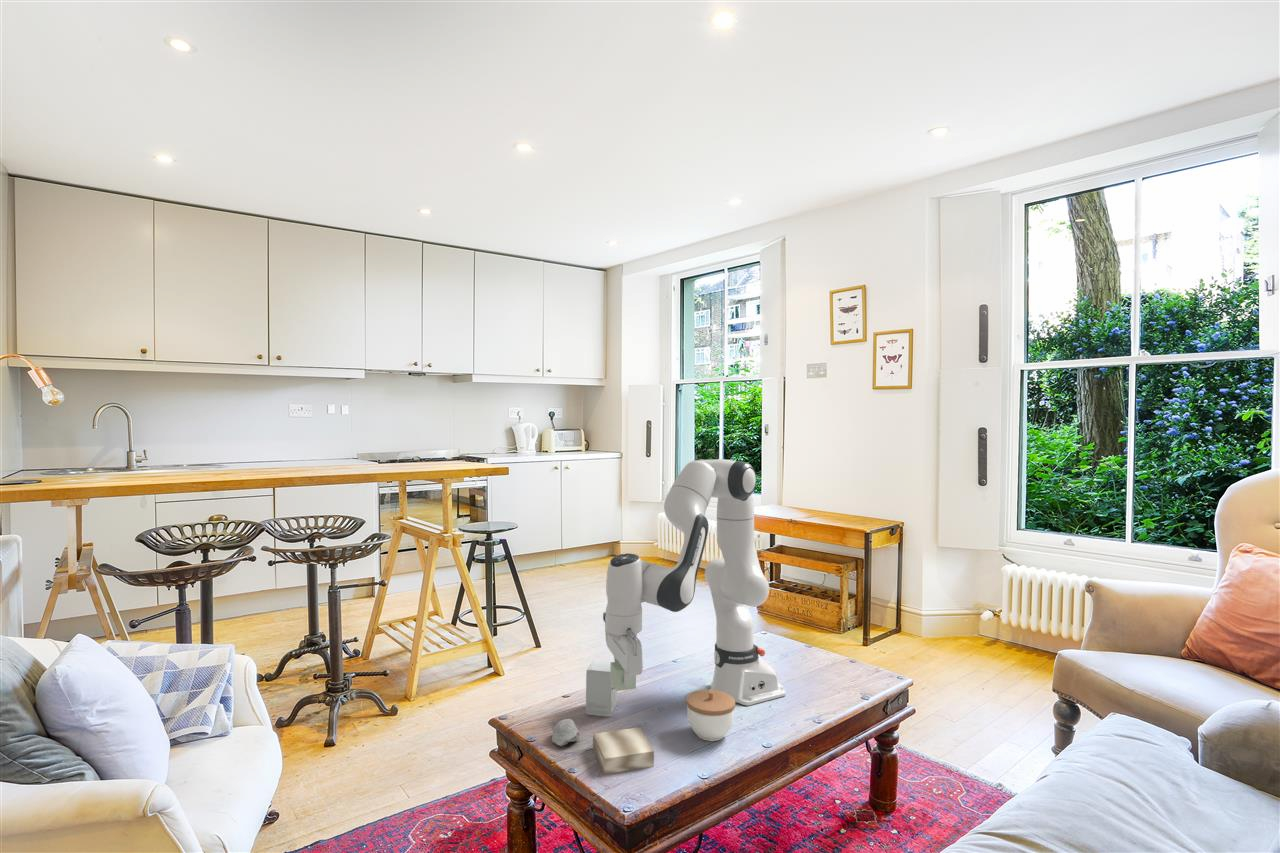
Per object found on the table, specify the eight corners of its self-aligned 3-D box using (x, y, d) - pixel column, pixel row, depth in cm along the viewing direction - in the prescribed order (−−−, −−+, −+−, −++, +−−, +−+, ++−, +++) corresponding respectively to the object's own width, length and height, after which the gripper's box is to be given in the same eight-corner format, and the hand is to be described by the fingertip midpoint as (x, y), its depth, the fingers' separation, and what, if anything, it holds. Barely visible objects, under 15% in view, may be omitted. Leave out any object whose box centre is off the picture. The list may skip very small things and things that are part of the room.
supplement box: (611, 717, 176) (611, 672, 175) (585, 714, 177) (585, 669, 177) (617, 705, 183) (617, 661, 183) (592, 703, 184) (592, 659, 184)
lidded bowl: (708, 717, 176) (709, 678, 176) (744, 735, 167) (745, 693, 166) (676, 732, 168) (676, 691, 168) (712, 752, 158) (712, 708, 158)
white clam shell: (588, 740, 164) (588, 721, 163) (564, 753, 158) (564, 733, 157) (565, 729, 169) (565, 710, 169) (542, 741, 163) (542, 721, 163)
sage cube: (629, 680, 159) (630, 660, 159) (635, 688, 154) (636, 668, 154) (610, 682, 157) (610, 662, 157) (615, 691, 152) (616, 670, 152)
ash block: (638, 742, 163) (639, 727, 163) (653, 767, 152) (653, 751, 152) (592, 749, 160) (593, 733, 160) (604, 775, 148) (604, 758, 148)
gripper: (649, 635, 146) (649, 695, 147) (624, 609, 166) (624, 662, 166) (623, 638, 144) (622, 699, 145) (601, 611, 164) (600, 664, 164)
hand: (623, 679), depth 156 cm, fingers closed on sage cube, 5 cm apart
